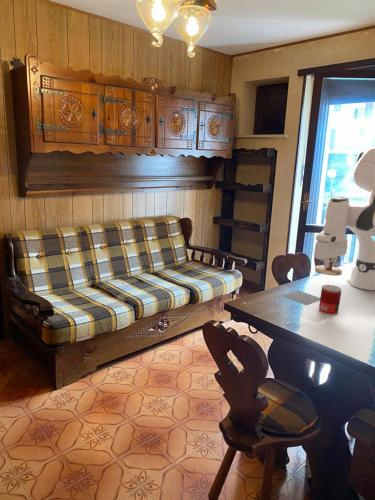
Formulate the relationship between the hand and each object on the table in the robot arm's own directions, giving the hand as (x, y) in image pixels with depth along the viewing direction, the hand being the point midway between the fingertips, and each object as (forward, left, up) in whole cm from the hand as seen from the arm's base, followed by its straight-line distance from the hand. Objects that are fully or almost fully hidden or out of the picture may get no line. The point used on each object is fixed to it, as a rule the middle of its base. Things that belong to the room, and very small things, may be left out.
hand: (328, 266), depth 167 cm
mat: (-4, -13, -20) cm, 24 cm away
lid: (0, 0, -2) cm, 2 cm away
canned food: (0, +3, -20) cm, 20 cm away
